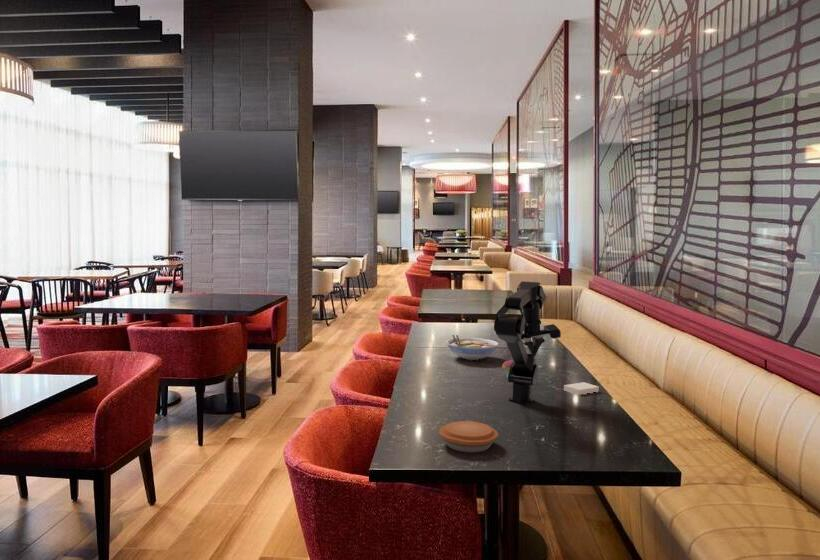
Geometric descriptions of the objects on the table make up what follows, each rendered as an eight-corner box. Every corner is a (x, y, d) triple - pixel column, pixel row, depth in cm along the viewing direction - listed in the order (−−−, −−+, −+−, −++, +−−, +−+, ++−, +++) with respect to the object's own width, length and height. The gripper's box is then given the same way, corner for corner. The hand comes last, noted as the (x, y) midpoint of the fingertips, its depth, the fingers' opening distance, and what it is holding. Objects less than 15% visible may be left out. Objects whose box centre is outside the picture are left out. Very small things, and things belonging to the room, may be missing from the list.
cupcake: (525, 376, 238) (526, 346, 237) (523, 381, 230) (524, 350, 229) (503, 374, 241) (504, 344, 240) (500, 379, 232) (501, 348, 231)
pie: (492, 435, 170) (493, 418, 169) (502, 456, 154) (503, 437, 154) (436, 434, 169) (437, 417, 169) (441, 455, 154) (441, 436, 153)
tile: (578, 390, 213) (598, 386, 218) (564, 385, 219) (584, 382, 224) (578, 396, 213) (598, 393, 218) (563, 391, 219) (583, 388, 224)
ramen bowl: (501, 366, 256) (502, 346, 255) (446, 364, 256) (447, 345, 255) (494, 353, 280) (495, 336, 280) (444, 352, 281) (445, 334, 280)
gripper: (548, 303, 218) (549, 342, 223) (497, 311, 216) (500, 351, 221) (560, 315, 207) (561, 356, 213) (507, 324, 205) (510, 365, 211)
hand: (533, 356), depth 215 cm, fingers closed
